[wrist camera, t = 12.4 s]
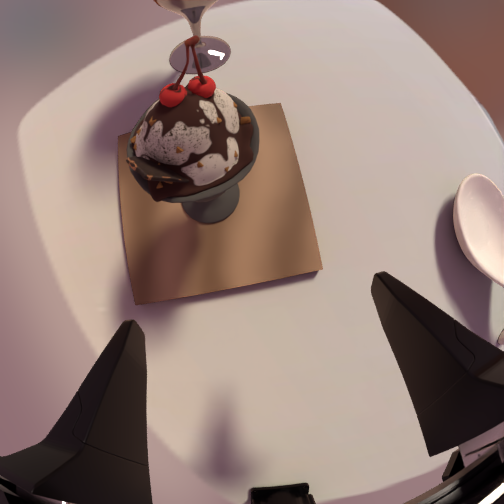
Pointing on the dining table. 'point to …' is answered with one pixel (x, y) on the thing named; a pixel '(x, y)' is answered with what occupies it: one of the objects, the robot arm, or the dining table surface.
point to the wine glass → (208, 48)
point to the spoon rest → (481, 226)
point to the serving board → (222, 226)
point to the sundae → (194, 146)
